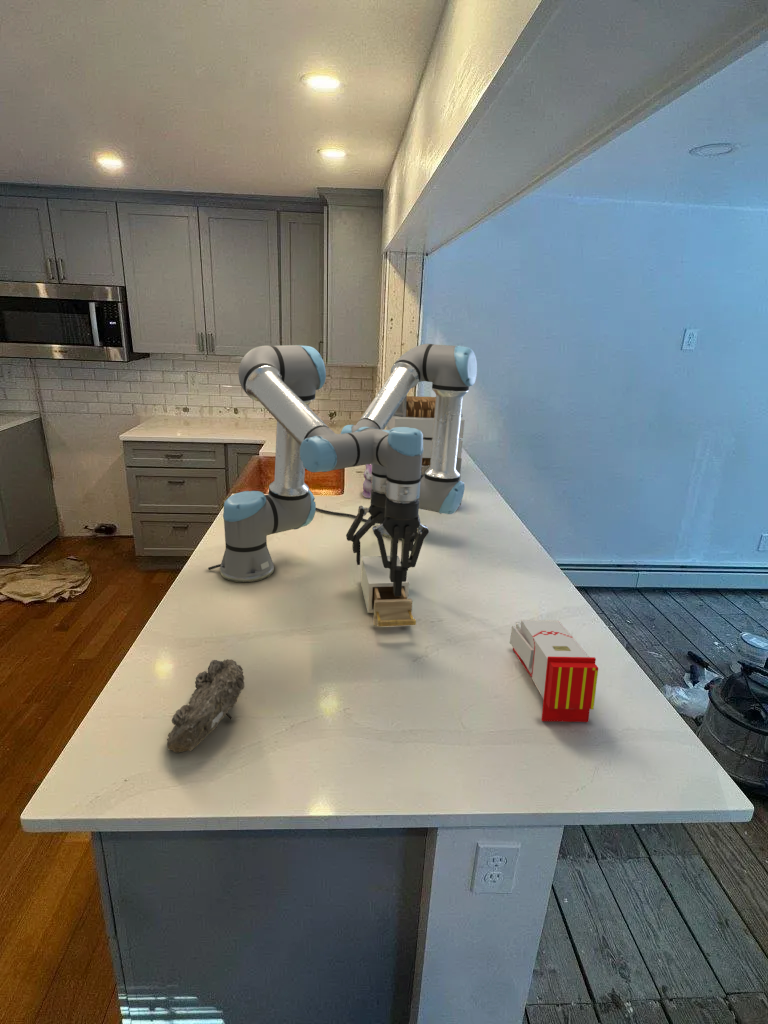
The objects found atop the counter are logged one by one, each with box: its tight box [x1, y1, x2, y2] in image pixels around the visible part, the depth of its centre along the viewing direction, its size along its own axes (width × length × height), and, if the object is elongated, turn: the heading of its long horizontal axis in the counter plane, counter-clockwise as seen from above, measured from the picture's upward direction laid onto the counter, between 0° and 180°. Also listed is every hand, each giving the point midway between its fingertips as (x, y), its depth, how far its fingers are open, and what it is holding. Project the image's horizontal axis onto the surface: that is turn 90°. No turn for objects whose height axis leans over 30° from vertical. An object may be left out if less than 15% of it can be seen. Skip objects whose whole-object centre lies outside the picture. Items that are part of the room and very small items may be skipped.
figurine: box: [361, 464, 372, 499], centre depth 237 cm, size 9×10×15 cm
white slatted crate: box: [385, 394, 465, 481], centre depth 268 cm, size 34×33×41 cm
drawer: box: [372, 586, 417, 628], centre depth 144 cm, size 21×9×6 cm, turn 8°
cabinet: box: [360, 555, 410, 614], centre depth 154 cm, size 17×10×9 cm, turn 8°
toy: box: [509, 619, 599, 723], centre depth 122 cm, size 12×13×30 cm
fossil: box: [166, 658, 245, 754], centre depth 106 cm, size 22×10×15 cm
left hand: (397, 593), depth 133 cm, fingers closed
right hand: (382, 562), depth 158 cm, fingers open, 13 cm apart
